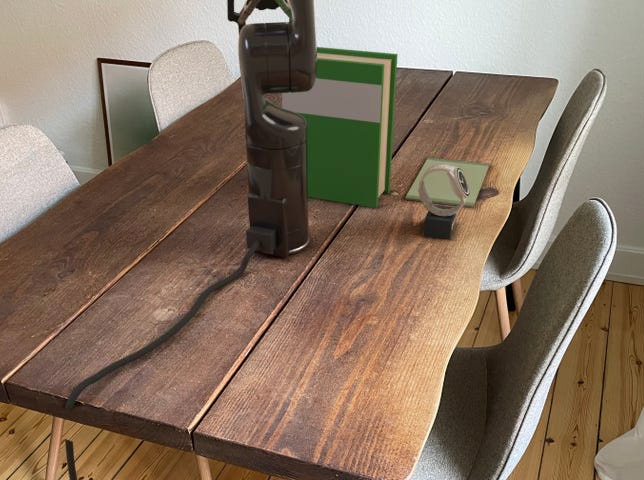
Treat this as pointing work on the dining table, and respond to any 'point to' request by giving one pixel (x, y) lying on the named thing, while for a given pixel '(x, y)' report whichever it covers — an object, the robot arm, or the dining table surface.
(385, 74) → the hardback book
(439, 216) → the watch
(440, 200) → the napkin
